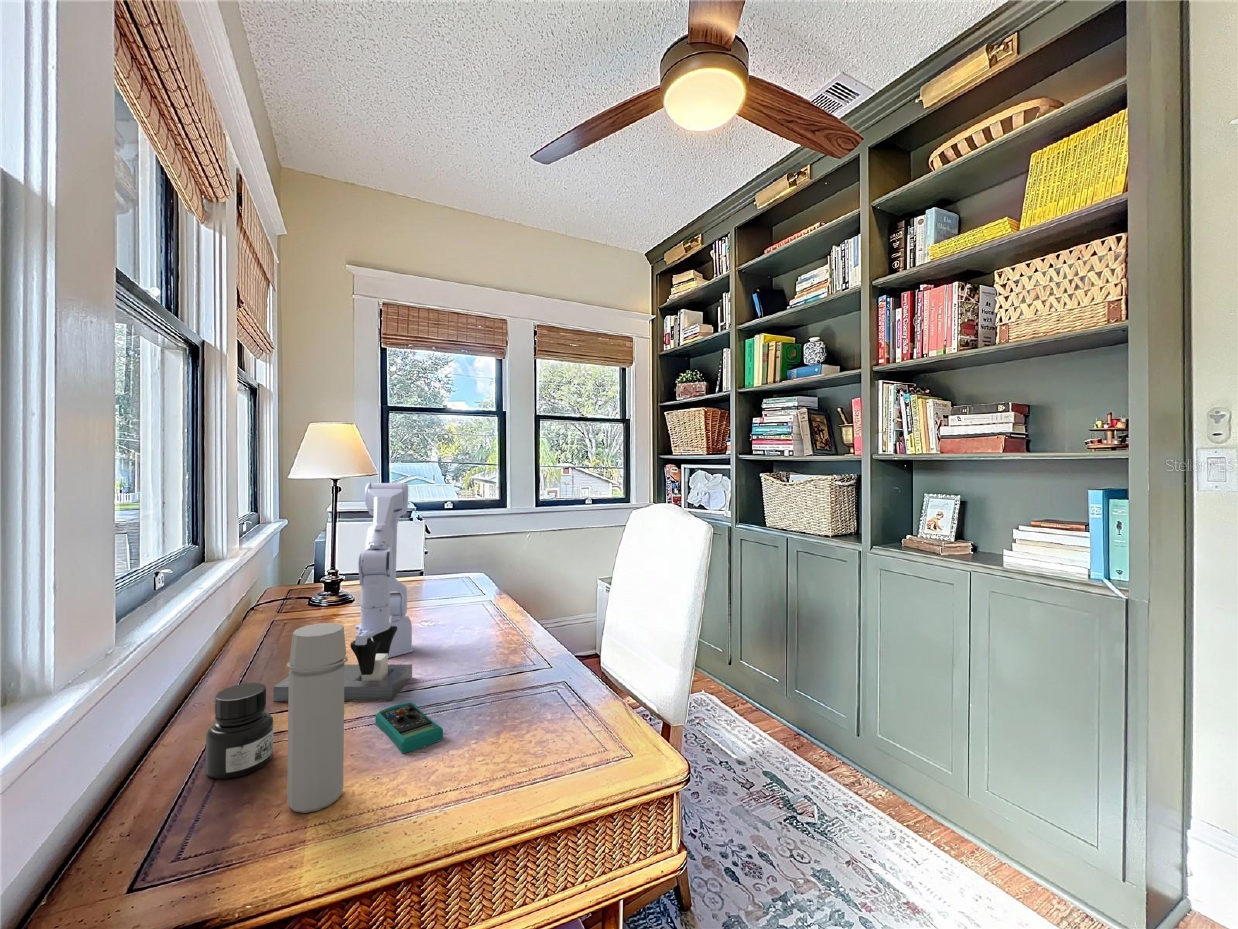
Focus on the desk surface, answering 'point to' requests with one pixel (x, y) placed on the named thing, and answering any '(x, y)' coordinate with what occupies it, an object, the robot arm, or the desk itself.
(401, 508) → the robot arm
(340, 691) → the water bottle
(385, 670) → the plug
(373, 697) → the jack panel
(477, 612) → the desk surface
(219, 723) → the ink bottle
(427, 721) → the digital multimeter
